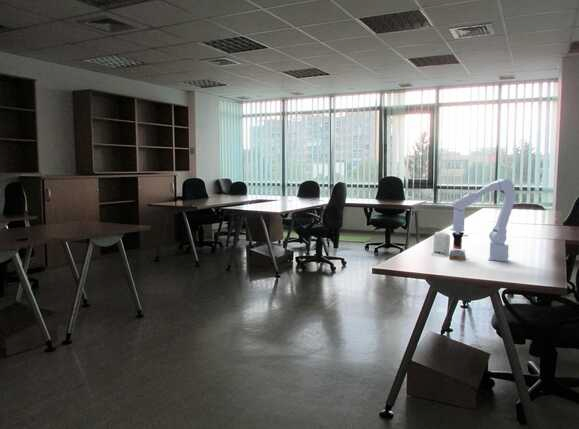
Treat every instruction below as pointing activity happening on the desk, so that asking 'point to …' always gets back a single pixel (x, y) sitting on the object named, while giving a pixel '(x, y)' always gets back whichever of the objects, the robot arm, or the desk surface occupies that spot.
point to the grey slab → (457, 252)
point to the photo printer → (441, 242)
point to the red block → (456, 246)
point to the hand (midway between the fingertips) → (457, 245)
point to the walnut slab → (457, 257)
